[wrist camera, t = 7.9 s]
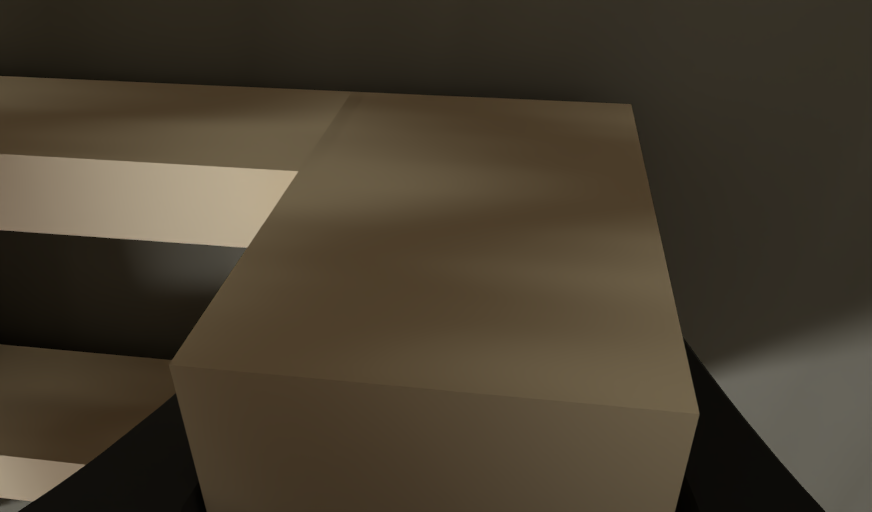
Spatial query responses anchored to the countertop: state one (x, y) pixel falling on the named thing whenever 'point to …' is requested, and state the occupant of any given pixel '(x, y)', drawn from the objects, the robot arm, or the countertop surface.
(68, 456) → the tan boxy piece
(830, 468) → the countertop surface
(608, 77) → the countertop surface
